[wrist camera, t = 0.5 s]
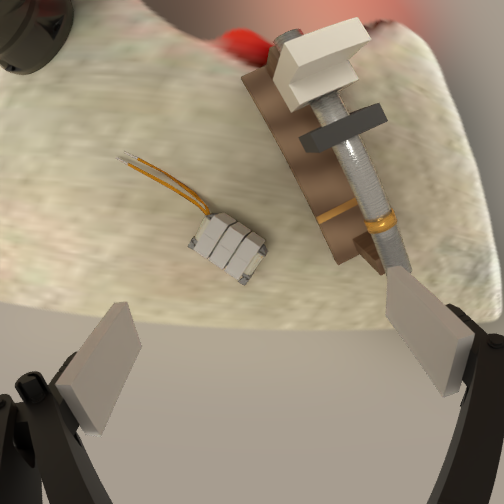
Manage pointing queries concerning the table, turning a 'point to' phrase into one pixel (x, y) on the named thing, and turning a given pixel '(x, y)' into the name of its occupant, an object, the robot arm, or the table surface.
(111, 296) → the table surface
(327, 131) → the dark gray nut plate
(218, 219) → the electrical component
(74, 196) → the table surface
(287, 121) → the pipe stand
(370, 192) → the steel pipe
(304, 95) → the white u-shaped bracket
